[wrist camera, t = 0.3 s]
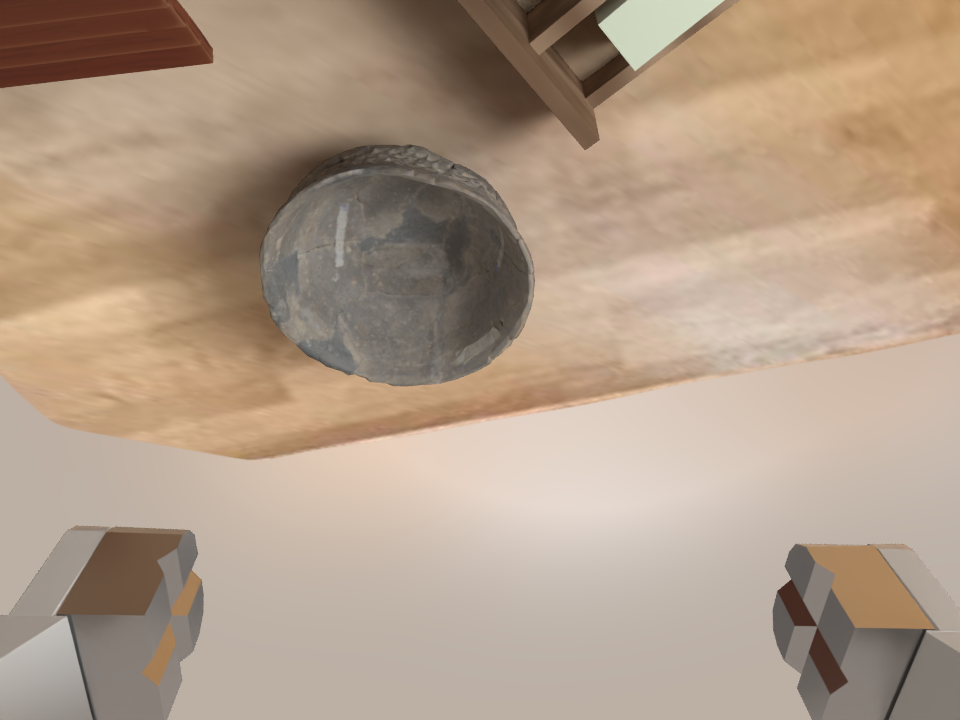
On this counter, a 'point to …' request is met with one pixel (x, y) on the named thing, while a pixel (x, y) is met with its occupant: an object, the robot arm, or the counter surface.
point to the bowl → (397, 267)
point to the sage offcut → (648, 24)
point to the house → (95, 39)
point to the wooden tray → (544, 67)
